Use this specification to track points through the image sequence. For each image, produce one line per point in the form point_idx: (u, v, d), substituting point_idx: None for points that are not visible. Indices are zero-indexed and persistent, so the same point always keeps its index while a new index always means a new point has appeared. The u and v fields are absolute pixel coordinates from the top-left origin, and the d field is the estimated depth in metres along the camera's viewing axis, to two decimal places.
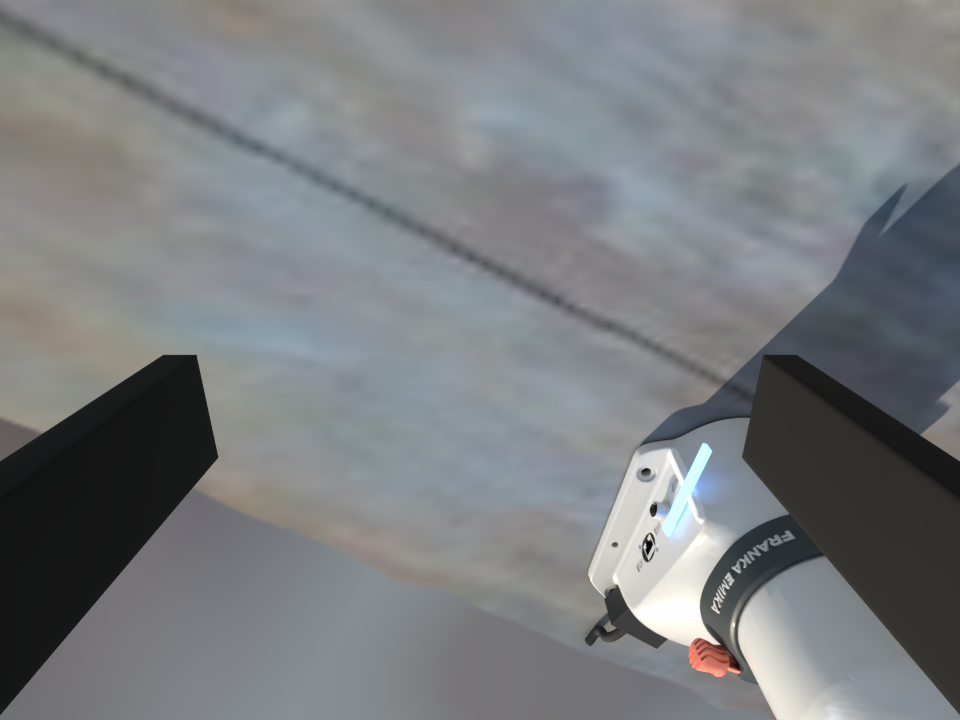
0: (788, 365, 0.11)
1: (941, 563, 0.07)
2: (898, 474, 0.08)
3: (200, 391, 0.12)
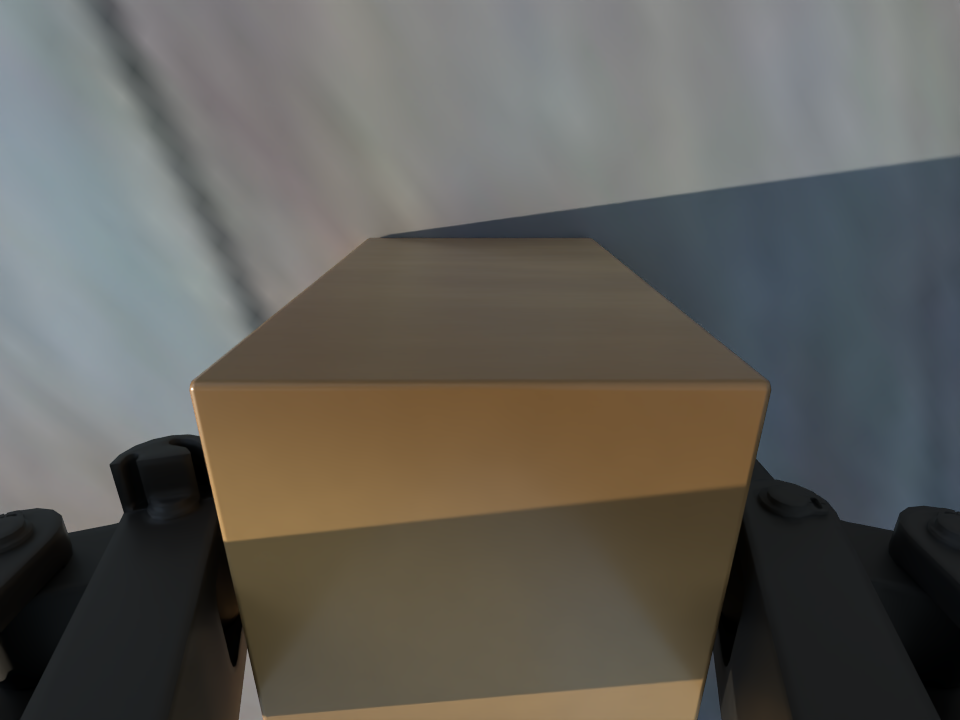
0: None
1: None
2: None
3: None
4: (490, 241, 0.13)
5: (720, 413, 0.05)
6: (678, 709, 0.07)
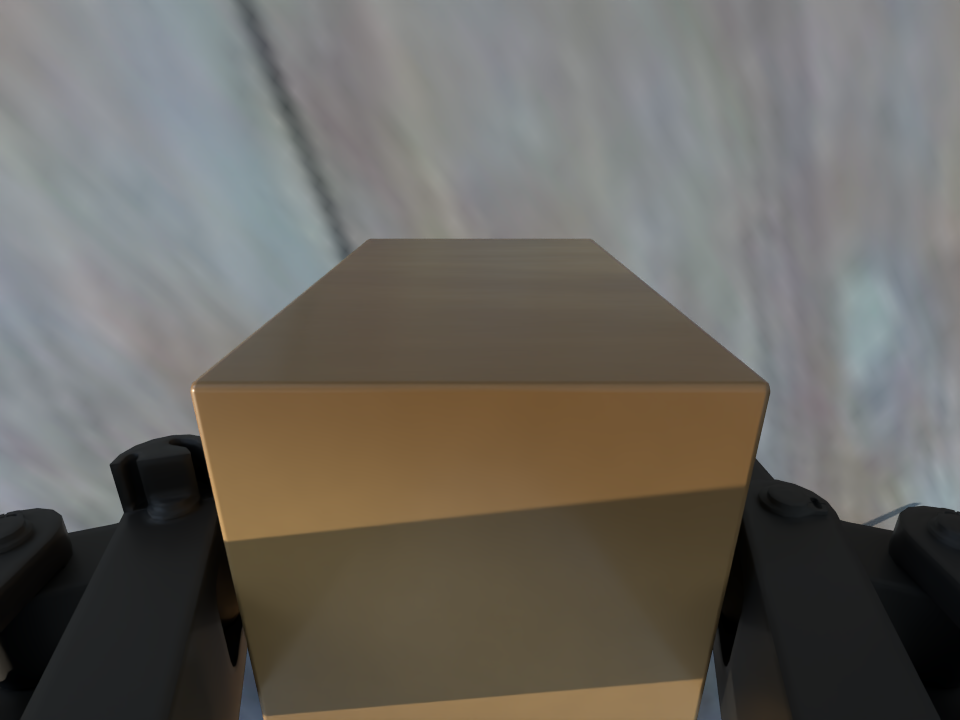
0: None
1: None
2: None
3: None
4: (490, 242, 0.13)
5: (718, 415, 0.05)
6: (678, 710, 0.07)
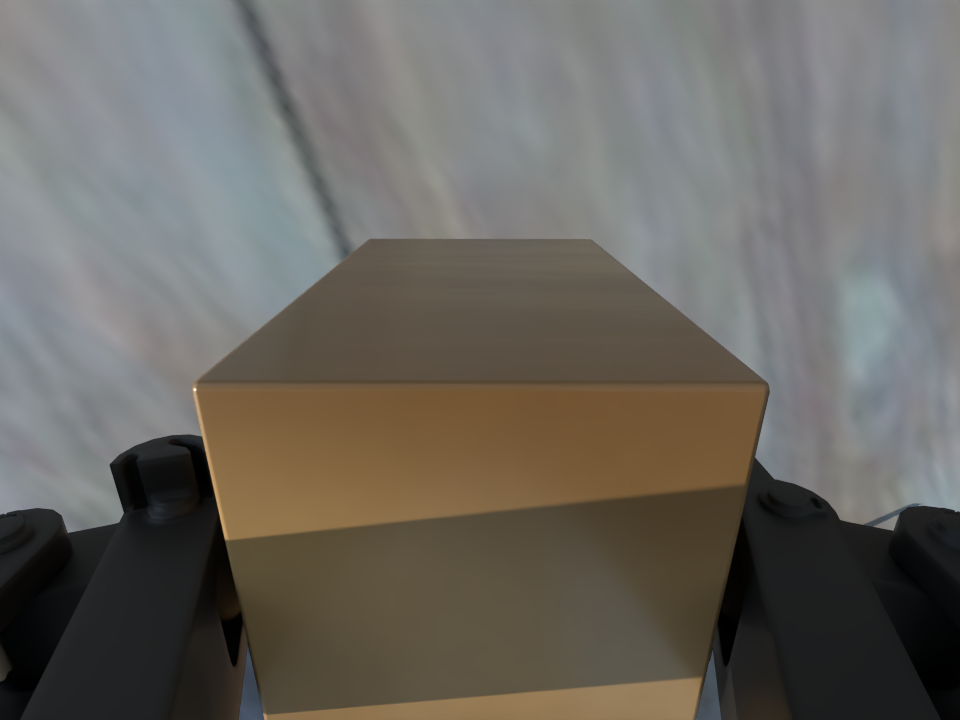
0: None
1: None
2: None
3: None
4: (490, 242, 0.13)
5: (718, 414, 0.05)
6: (677, 709, 0.07)
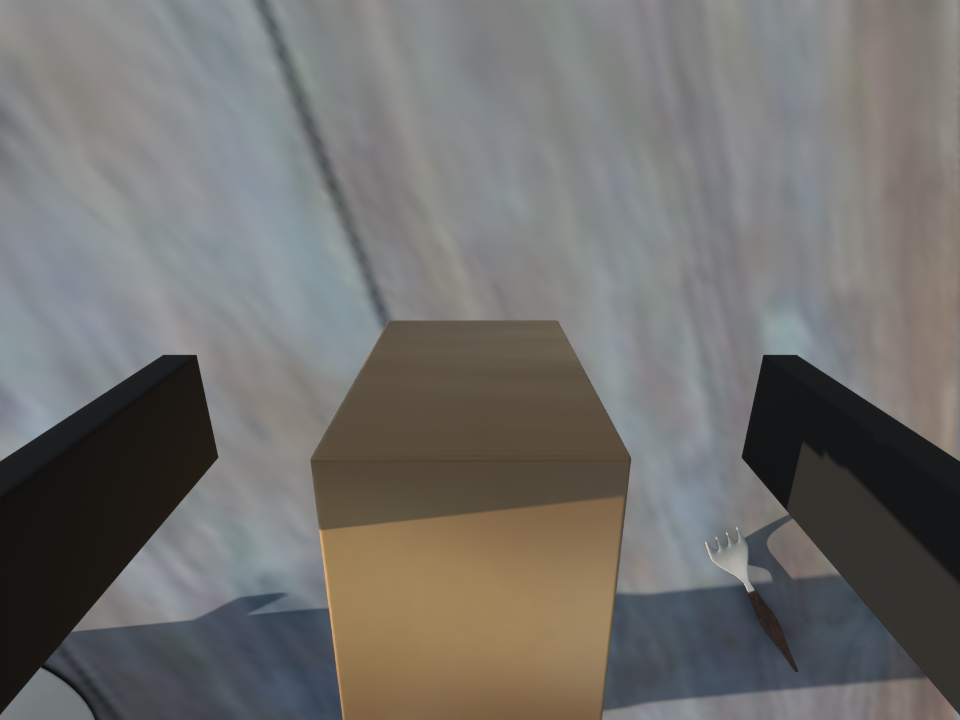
0: (788, 365, 0.11)
1: (941, 563, 0.07)
2: (898, 474, 0.08)
3: (200, 391, 0.12)
4: (480, 325, 0.17)
5: (603, 473, 0.10)
6: (595, 652, 0.11)
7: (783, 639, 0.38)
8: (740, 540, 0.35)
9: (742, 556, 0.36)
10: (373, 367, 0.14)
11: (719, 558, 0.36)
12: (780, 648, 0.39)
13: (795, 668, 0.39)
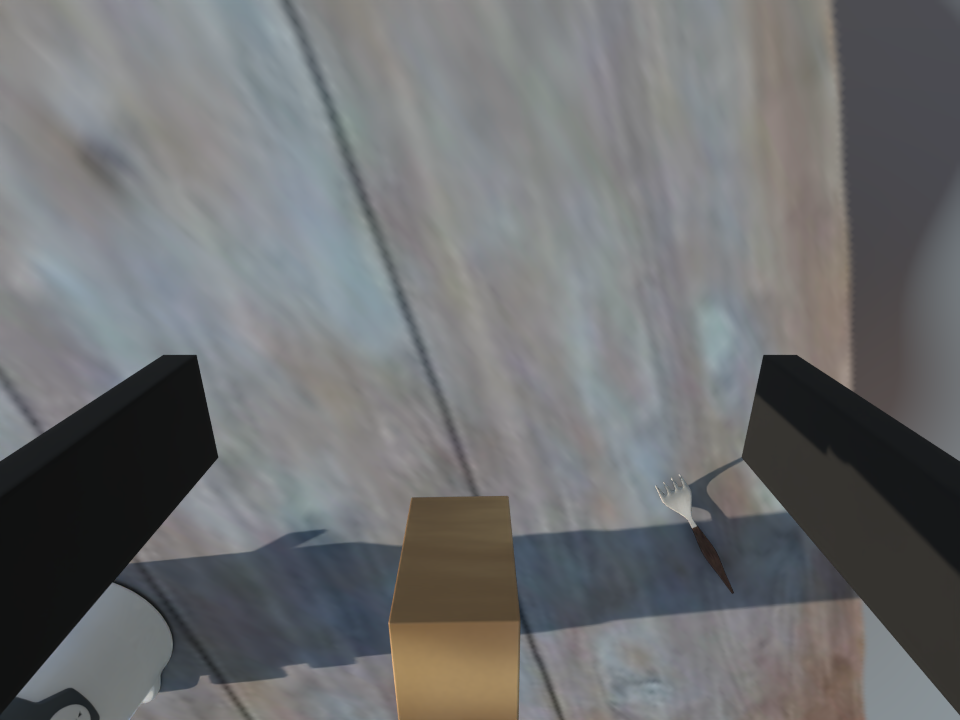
0: (788, 365, 0.11)
1: (941, 563, 0.07)
2: (898, 474, 0.08)
3: (200, 391, 0.12)
4: (463, 502, 0.31)
5: (508, 627, 0.23)
6: (512, 695, 0.25)
7: (721, 566, 0.48)
8: (684, 486, 0.45)
9: (687, 499, 0.46)
10: (407, 550, 0.27)
11: (669, 500, 0.46)
12: (718, 573, 0.49)
13: (731, 590, 0.50)
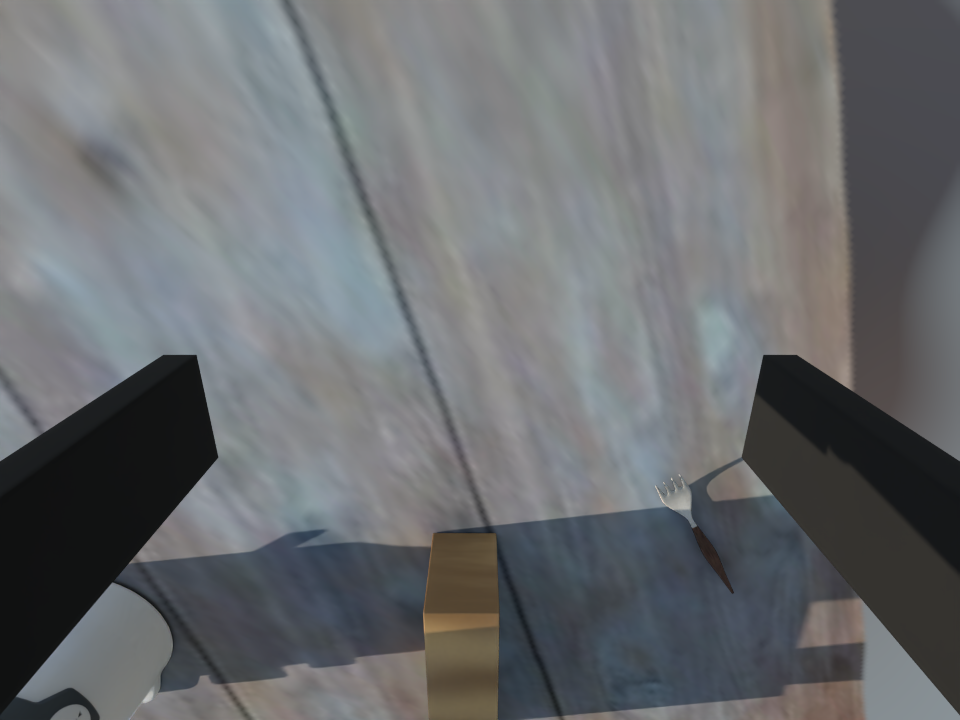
0: (788, 365, 0.11)
1: (941, 563, 0.07)
2: (898, 474, 0.08)
3: (200, 391, 0.12)
4: (467, 537, 0.47)
5: (493, 616, 0.40)
6: (494, 657, 0.41)
7: (721, 566, 0.48)
8: (684, 486, 0.45)
9: (687, 499, 0.46)
10: (432, 569, 0.44)
11: (669, 500, 0.46)
12: (718, 573, 0.49)
13: (731, 590, 0.50)
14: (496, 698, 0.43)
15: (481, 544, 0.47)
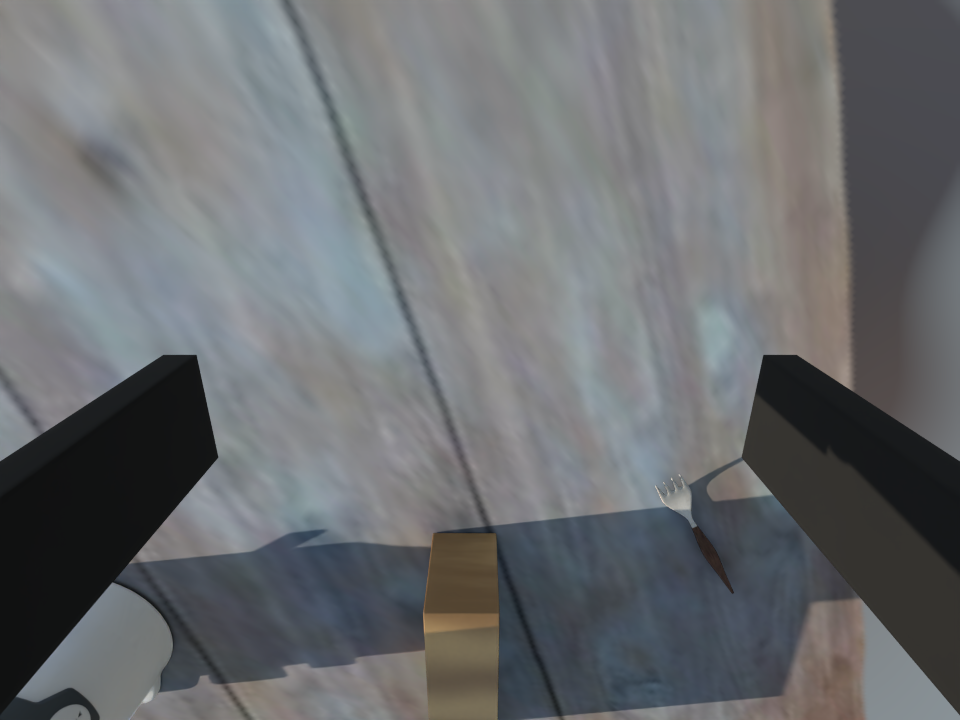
0: (788, 365, 0.11)
1: (941, 563, 0.07)
2: (898, 474, 0.08)
3: (200, 391, 0.12)
4: (467, 537, 0.47)
5: (492, 616, 0.40)
6: (494, 657, 0.41)
7: (721, 566, 0.48)
8: (684, 486, 0.45)
9: (687, 499, 0.46)
10: (432, 569, 0.44)
11: (669, 500, 0.46)
12: (718, 573, 0.49)
13: (731, 590, 0.50)
14: (496, 698, 0.43)
15: (481, 544, 0.47)
